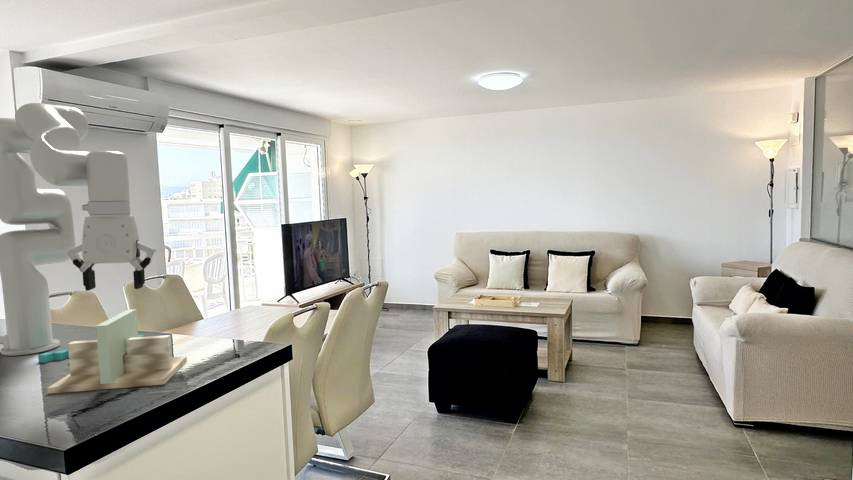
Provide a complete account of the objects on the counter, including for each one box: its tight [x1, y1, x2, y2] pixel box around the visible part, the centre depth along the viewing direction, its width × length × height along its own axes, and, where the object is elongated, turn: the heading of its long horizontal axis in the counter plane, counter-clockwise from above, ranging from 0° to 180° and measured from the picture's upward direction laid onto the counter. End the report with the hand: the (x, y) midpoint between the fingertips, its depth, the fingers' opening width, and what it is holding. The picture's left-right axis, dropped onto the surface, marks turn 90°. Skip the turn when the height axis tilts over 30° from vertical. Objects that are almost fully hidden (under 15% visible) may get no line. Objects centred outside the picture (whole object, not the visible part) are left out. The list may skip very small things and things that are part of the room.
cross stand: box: [46, 334, 188, 395], centre depth 114 cm, size 22×16×8 cm
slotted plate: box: [95, 308, 139, 384], centre depth 114 cm, size 16×2×12 cm, turn 10°
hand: (114, 288), depth 114 cm, fingers open, 9 cm apart
